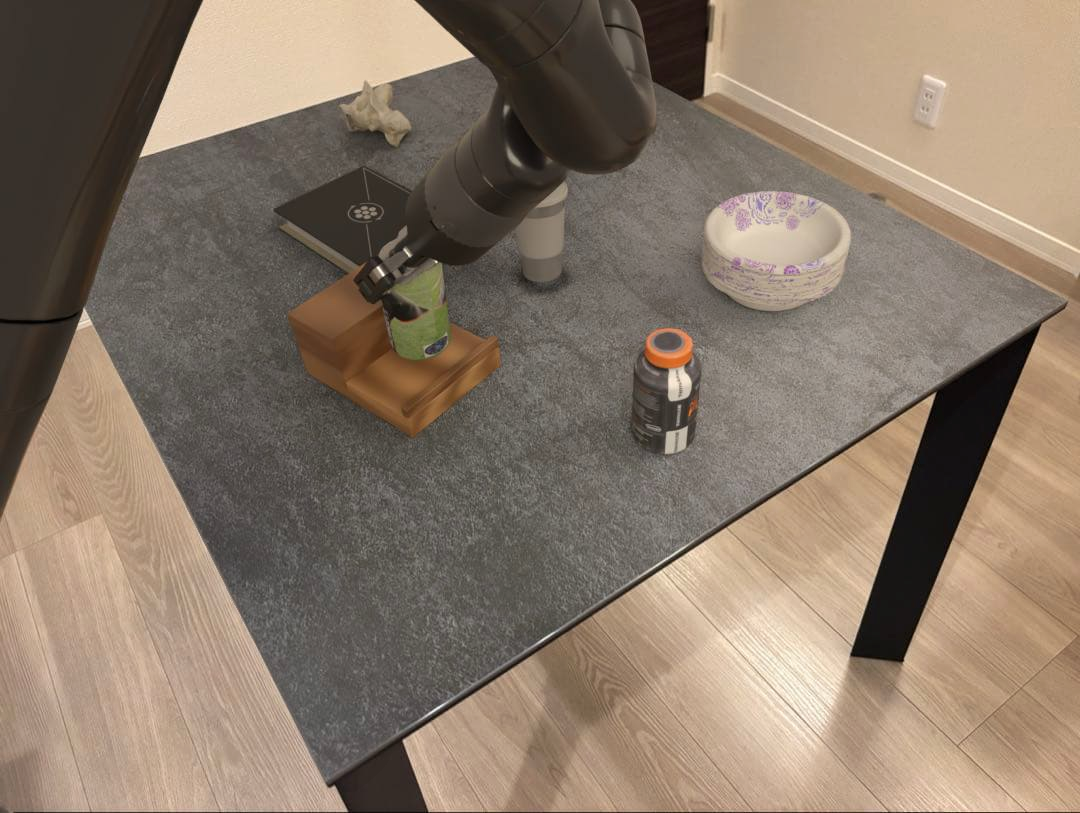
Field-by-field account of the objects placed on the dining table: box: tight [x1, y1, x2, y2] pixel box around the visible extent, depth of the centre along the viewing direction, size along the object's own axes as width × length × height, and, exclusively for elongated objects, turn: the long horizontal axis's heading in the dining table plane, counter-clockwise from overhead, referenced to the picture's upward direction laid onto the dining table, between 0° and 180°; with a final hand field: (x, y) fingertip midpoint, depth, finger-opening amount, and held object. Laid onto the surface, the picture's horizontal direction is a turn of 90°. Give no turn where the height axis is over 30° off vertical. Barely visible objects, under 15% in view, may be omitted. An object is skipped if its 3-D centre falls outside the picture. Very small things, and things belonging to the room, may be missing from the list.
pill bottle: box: [631, 327, 702, 455], centre depth 74 cm, size 6×6×11 cm
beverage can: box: [379, 240, 451, 360], centre depth 78 cm, size 6×7×12 cm
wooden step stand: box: [286, 254, 502, 438], centre depth 84 cm, size 13×16×8 cm
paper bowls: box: [700, 190, 852, 312], centre depth 90 cm, size 15×15×8 cm
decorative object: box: [338, 79, 413, 148], centre depth 122 cm, size 9×14×8 cm, turn 34°
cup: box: [514, 181, 569, 283], centre depth 94 cm, size 7×7×12 cm
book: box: [272, 165, 413, 275], centre depth 105 cm, size 22×15×3 cm
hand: (394, 276), depth 77 cm, fingers closed on beverage can, 6 cm apart
